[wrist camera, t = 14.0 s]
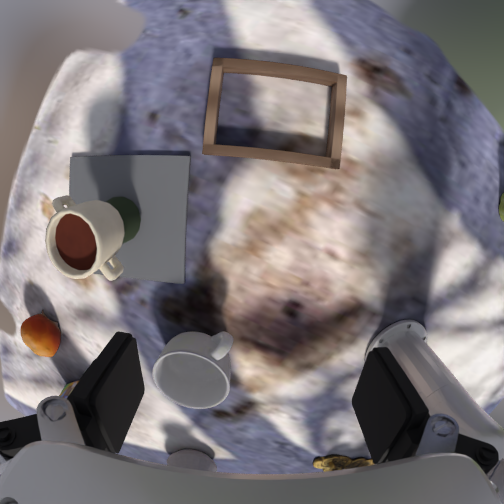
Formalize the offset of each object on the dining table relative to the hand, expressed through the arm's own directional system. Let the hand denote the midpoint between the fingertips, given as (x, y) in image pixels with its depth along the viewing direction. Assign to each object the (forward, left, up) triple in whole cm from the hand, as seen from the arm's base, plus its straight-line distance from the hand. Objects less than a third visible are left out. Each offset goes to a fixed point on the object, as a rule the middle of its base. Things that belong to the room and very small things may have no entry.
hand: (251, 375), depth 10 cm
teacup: (-19, +5, -28) cm, 34 cm away
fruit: (-21, +35, -28) cm, 49 cm away
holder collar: (+15, -2, -28) cm, 32 cm away
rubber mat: (0, +17, -28) cm, 32 cm away
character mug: (0, +17, -27) cm, 32 cm away
